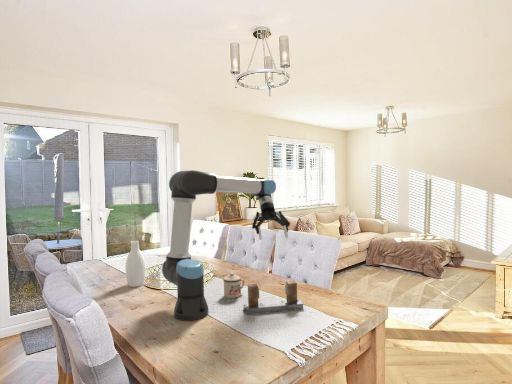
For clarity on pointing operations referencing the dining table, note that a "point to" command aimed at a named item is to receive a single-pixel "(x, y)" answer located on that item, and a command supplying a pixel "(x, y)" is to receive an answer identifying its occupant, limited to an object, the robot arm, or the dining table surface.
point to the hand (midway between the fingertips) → (273, 237)
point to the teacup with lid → (232, 286)
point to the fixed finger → (253, 294)
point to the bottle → (135, 266)
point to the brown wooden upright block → (291, 291)
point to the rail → (273, 307)
